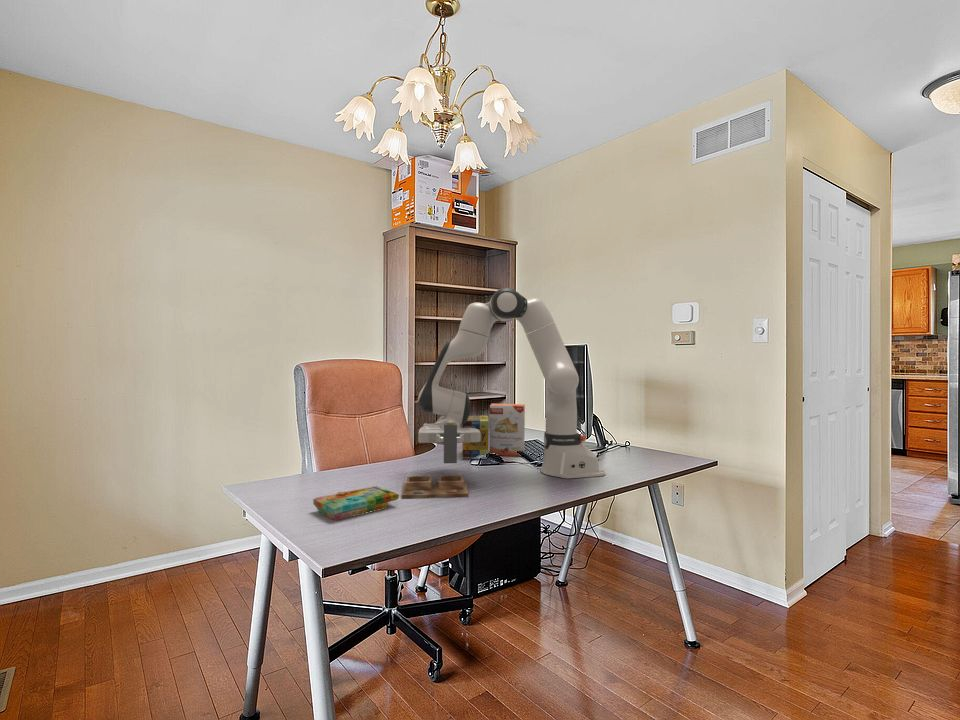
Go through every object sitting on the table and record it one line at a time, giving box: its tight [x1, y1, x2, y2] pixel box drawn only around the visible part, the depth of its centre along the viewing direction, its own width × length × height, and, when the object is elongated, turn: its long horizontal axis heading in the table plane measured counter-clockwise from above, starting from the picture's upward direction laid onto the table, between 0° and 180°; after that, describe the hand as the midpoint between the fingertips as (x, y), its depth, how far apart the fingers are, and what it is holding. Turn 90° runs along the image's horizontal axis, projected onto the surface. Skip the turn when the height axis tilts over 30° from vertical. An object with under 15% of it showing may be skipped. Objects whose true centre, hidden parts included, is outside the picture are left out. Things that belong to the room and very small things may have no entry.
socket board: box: [400, 474, 470, 499], centre depth 167 cm, size 20×14×4 cm
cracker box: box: [488, 403, 526, 458], centre depth 219 cm, size 14×6×21 cm, turn 81°
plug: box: [443, 421, 458, 464], centre depth 169 cm, size 4×4×13 cm
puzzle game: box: [312, 485, 400, 521], centre depth 149 cm, size 12×5×20 cm
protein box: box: [461, 414, 490, 460], centre depth 218 cm, size 10×15×16 cm
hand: (450, 440), depth 168 cm, fingers closed on plug, 4 cm apart
